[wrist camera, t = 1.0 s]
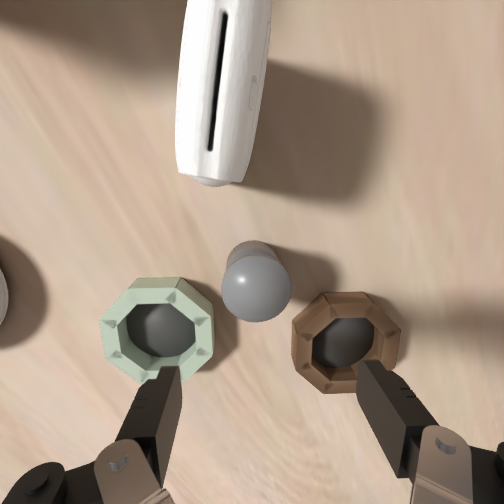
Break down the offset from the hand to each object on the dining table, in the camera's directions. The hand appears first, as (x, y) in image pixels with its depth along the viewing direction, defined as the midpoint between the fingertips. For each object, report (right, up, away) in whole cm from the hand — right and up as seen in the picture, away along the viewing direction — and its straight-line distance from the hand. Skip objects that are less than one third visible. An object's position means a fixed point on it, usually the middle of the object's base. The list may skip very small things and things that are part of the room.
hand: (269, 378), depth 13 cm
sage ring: (-10, -2, +16) cm, 19 cm away
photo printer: (-3, +17, +12) cm, 21 cm away
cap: (-1, +4, +15) cm, 16 cm away
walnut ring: (+8, -3, +18) cm, 20 cm away
